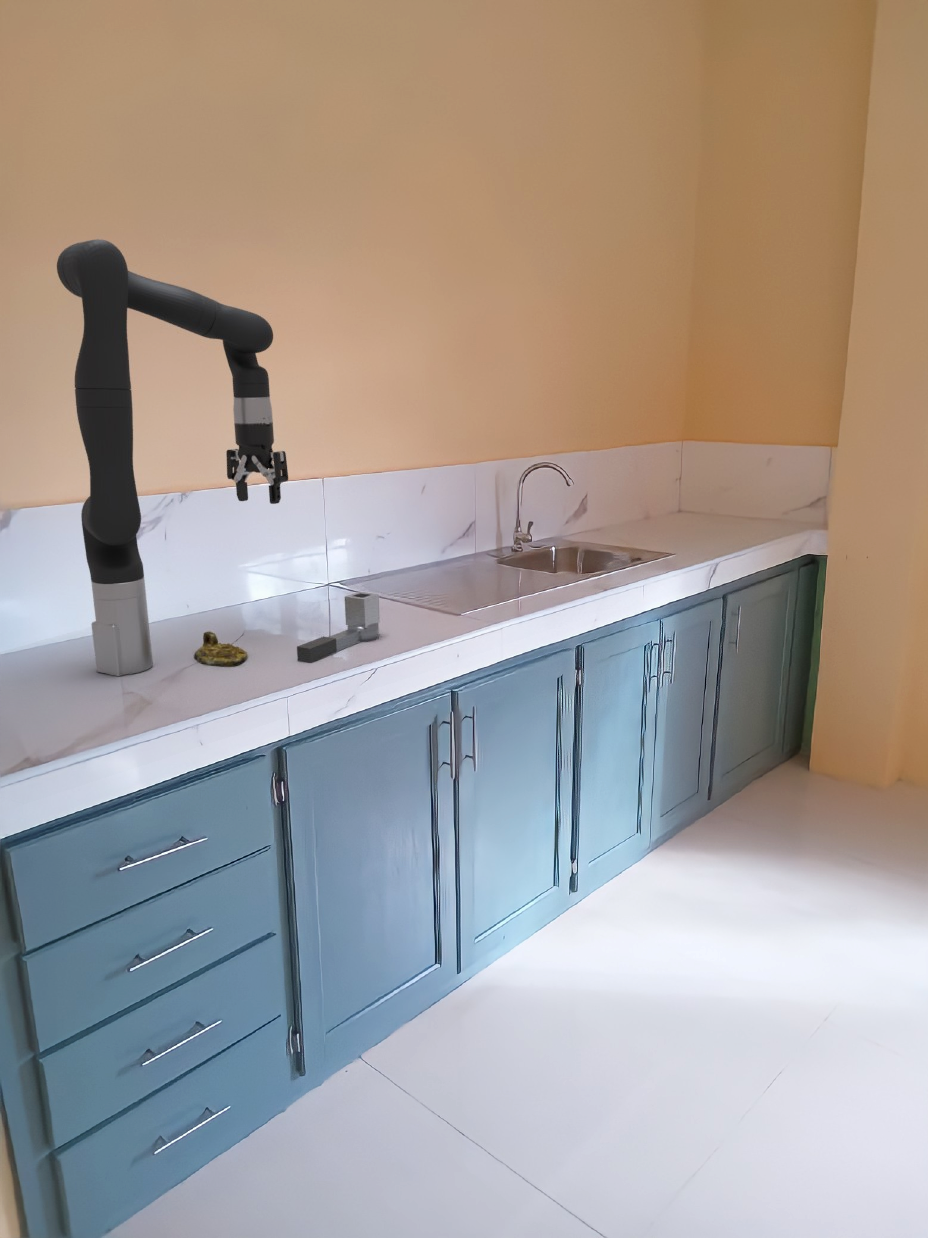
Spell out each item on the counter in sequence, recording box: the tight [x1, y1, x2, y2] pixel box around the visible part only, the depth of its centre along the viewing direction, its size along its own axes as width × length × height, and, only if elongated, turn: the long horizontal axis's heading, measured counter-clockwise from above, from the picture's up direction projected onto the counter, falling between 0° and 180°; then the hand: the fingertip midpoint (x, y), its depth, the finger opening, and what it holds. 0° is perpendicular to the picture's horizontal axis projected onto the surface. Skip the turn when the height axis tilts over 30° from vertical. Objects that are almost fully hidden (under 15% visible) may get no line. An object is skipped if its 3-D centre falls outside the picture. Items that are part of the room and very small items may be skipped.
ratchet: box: [296, 622, 380, 664], centre depth 188 cm, size 22×6×6 cm, turn 149°
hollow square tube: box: [344, 591, 381, 628], centre depth 194 cm, size 5×5×6 cm
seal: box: [193, 631, 249, 668], centre depth 183 cm, size 9×5×15 cm
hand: (259, 502), depth 191 cm, fingers open, 8 cm apart
